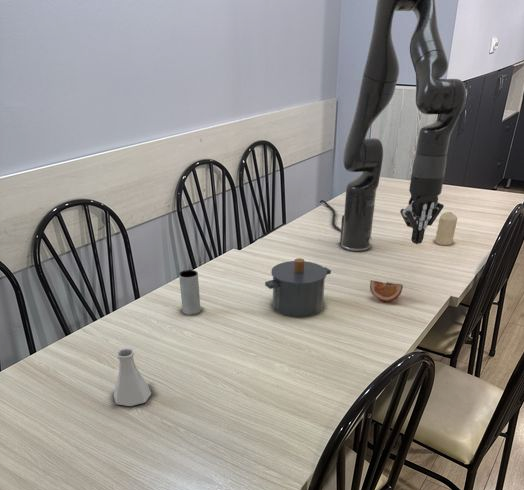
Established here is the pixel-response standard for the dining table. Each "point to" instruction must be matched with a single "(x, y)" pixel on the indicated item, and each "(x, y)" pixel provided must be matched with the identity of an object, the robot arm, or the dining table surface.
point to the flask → (129, 381)
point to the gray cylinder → (190, 292)
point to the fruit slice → (385, 290)
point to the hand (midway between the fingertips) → (416, 242)
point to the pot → (297, 297)
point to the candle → (446, 229)
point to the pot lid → (299, 272)
